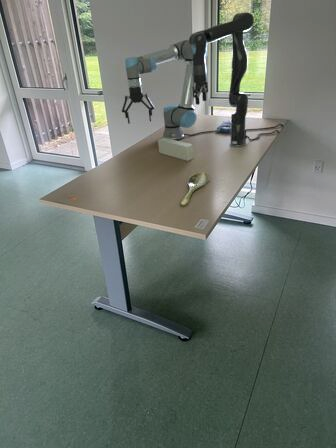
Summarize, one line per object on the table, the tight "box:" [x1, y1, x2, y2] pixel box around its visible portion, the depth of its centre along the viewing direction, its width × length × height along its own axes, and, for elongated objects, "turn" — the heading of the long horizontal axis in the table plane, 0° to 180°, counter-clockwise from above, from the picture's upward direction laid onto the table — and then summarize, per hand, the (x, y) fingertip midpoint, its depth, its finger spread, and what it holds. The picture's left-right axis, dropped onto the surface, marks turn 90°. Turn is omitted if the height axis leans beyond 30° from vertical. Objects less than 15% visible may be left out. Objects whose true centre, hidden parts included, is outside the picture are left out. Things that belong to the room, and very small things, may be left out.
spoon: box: [180, 171, 210, 207], centre depth 170 cm, size 35×11×2 cm, turn 159°
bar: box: [157, 137, 195, 162], centre depth 214 cm, size 26×5×9 cm, turn 44°
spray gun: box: [216, 120, 231, 134], centre depth 254 cm, size 21×4×15 cm
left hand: (139, 122), depth 210 cm, fingers open, 13 cm apart
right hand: (201, 102), depth 198 cm, fingers open, 8 cm apart
